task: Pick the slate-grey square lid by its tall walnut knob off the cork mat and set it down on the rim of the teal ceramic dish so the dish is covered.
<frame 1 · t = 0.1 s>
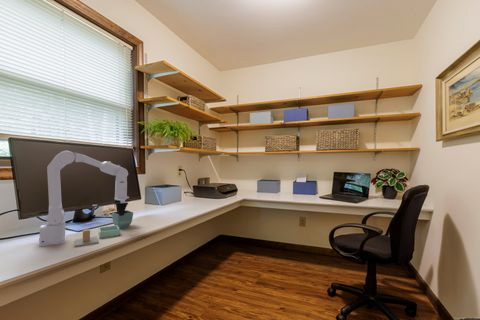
hand: (120, 214, 124), 10 cm above the table, fingers open, 7 cm apart
mat: (86, 242, 108), on the table
lid: (86, 242, 108), resting on mat
dish: (108, 235, 119), on the table
flower pot: (122, 227, 133), on the table
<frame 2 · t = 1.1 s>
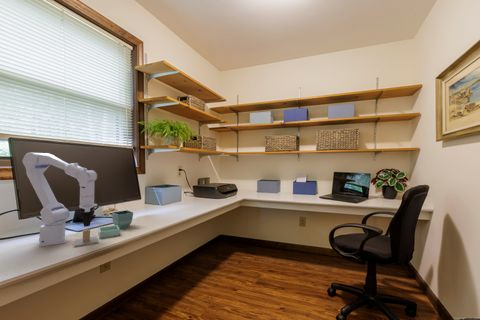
hand: (86, 224, 108), 9 cm above the table, fingers open, 7 cm apart
nothing on the table moved.
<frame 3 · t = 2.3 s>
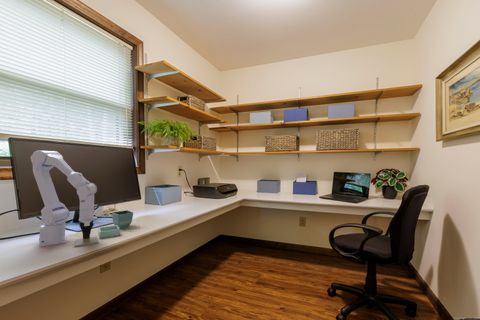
hand: (86, 237, 108), 3 cm above the table, fingers closed on lid, 3 cm apart
lid: (86, 242, 108), resting on mat, touching gripper
everything else where it was.
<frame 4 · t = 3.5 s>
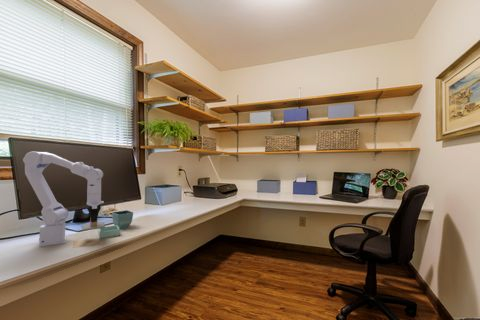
hand: (93, 220, 111), 10 cm above the table, fingers closed on lid, 3 cm apart
lid: (93, 226, 111), point 7 cm above the table, touching gripper
everything else where it was.
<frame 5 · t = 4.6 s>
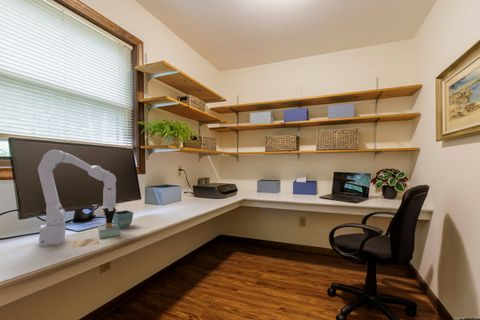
hand: (109, 222, 119), 7 cm above the table, fingers closed on lid, 3 cm apart
lid: (108, 228, 119), point 3 cm above the table, touching dish, gripper
everything else where it was.
when the fingers open (7 cm above the table, at t = 4.7 s): lid stays where it is, resting on dish.
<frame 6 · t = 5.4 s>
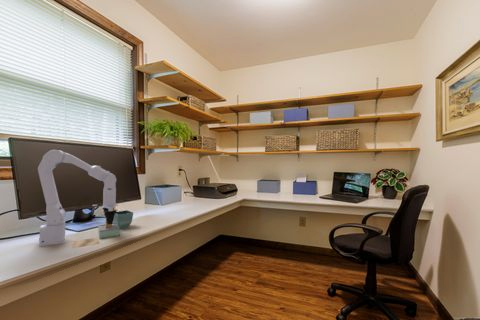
hand: (109, 222, 119), 7 cm above the table, fingers open, 7 cm apart
lid: (108, 228, 119), point 3 cm above the table, touching dish
everything else where it was.
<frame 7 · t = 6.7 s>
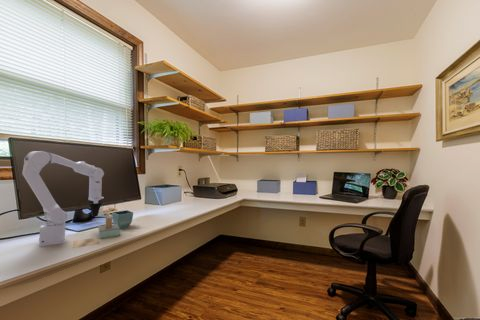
hand: (94, 214, 122), 10 cm above the table, fingers open, 7 cm apart
nothing on the table moved.
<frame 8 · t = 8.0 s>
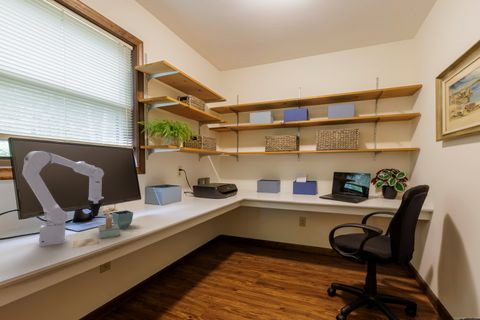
hand: (94, 214, 122), 10 cm above the table, fingers open, 7 cm apart
nothing on the table moved.
at the end: lid 0.2 cm off-centre on the dish, point 3.5 cm above the dish's base; lid tilted 0°; the gripper is holding nothing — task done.
